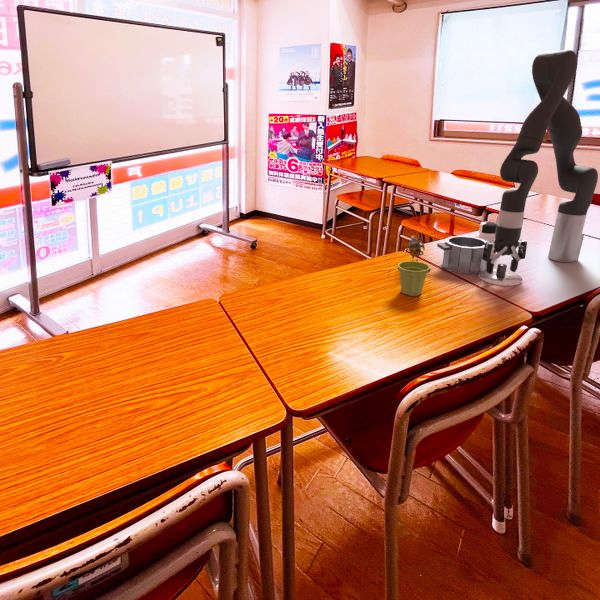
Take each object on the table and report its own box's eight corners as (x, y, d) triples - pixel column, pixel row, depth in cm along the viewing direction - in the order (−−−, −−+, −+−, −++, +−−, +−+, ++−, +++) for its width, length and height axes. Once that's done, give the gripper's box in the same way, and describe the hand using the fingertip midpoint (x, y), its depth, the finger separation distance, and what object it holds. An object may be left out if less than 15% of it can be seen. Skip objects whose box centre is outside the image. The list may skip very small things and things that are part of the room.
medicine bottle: (496, 253, 192) (501, 222, 187) (491, 258, 186) (496, 226, 181) (477, 249, 195) (481, 219, 190) (472, 254, 190) (476, 223, 185)
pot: (477, 258, 186) (480, 234, 182) (499, 271, 173) (504, 246, 170) (428, 261, 182) (431, 237, 178) (448, 275, 169) (451, 249, 166)
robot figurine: (431, 266, 177) (435, 233, 173) (430, 275, 169) (434, 241, 164) (399, 263, 180) (402, 230, 175) (397, 272, 172) (400, 238, 167)
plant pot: (392, 287, 159) (394, 261, 156) (421, 286, 160) (424, 260, 157) (400, 298, 151) (402, 271, 147) (430, 298, 152) (434, 270, 148)
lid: (505, 270, 175) (508, 257, 173) (530, 285, 163) (533, 270, 161) (470, 273, 172) (472, 259, 170) (493, 288, 160) (495, 273, 158)
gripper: (522, 219, 165) (513, 266, 171) (482, 222, 162) (475, 269, 168) (536, 225, 158) (527, 274, 165) (496, 228, 155) (488, 277, 162)
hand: (501, 272), depth 166 cm, fingers open, 8 cm apart
